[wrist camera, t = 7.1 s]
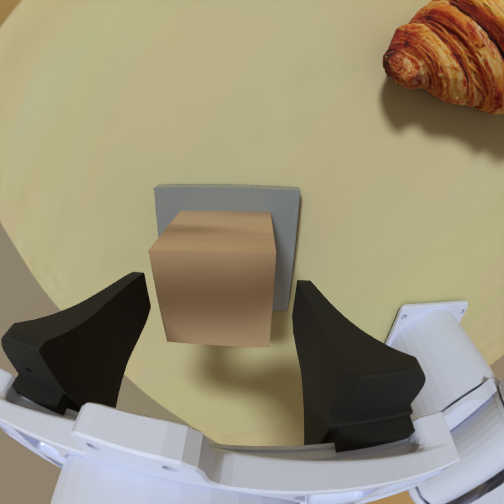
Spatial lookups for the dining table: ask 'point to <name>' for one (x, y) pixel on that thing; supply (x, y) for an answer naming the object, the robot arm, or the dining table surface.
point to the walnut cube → (216, 277)
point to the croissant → (453, 53)
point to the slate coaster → (241, 199)
